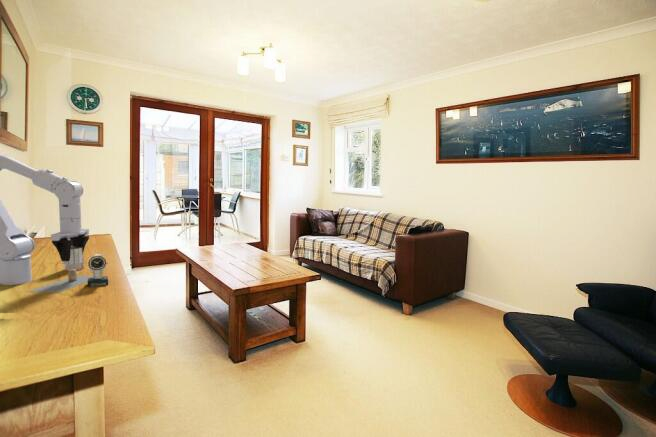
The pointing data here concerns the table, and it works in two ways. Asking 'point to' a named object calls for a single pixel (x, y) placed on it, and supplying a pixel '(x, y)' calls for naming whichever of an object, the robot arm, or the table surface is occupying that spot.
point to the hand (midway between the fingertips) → (72, 259)
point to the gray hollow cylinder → (74, 256)
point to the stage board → (62, 285)
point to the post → (72, 275)
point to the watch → (97, 270)
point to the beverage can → (74, 266)
